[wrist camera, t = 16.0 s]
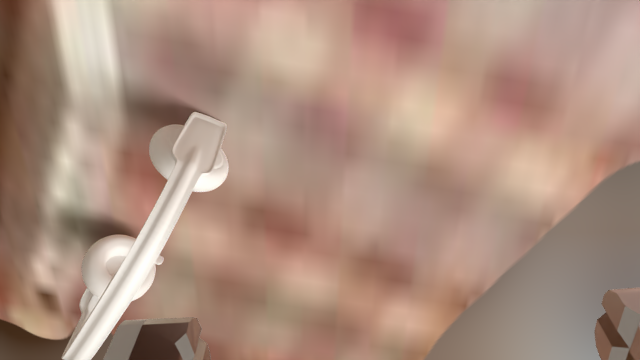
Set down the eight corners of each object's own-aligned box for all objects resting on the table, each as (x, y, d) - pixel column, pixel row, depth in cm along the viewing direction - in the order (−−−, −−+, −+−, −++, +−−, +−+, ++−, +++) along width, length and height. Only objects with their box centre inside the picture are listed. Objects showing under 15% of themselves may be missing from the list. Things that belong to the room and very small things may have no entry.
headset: (182, 86, 43) (103, 211, 28) (253, 129, 45) (215, 265, 30) (98, 233, 52) (5, 386, 37) (160, 263, 54) (95, 418, 40)
